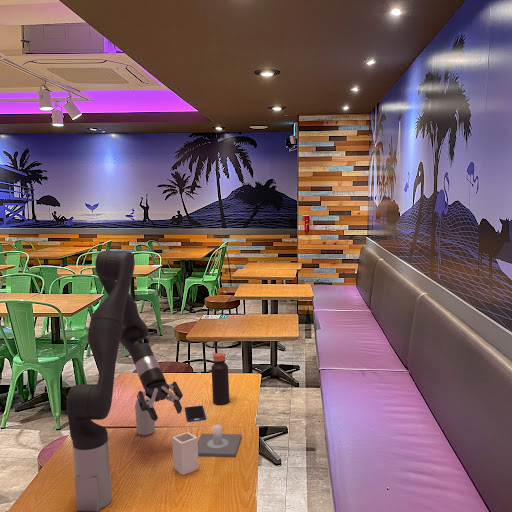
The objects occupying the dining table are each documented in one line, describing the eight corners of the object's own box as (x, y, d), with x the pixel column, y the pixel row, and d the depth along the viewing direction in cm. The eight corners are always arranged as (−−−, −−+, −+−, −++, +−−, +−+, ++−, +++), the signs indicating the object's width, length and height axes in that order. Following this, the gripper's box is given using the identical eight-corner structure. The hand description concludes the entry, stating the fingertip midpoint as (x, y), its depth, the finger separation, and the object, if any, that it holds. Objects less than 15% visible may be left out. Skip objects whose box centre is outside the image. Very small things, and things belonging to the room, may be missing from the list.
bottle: (214, 406, 207) (212, 357, 205) (211, 400, 214) (209, 353, 212) (231, 404, 209) (229, 355, 207) (227, 398, 215) (225, 351, 213)
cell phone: (187, 423, 193) (187, 421, 193) (184, 408, 207) (184, 407, 206) (206, 421, 194) (206, 419, 194) (202, 406, 208) (202, 405, 208)
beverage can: (150, 437, 182) (148, 404, 180) (133, 436, 183) (131, 403, 182) (157, 429, 188) (155, 397, 187) (141, 428, 189) (139, 396, 188)
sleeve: (198, 469, 159) (197, 437, 158) (182, 475, 155) (181, 443, 154) (189, 462, 163) (187, 431, 162) (173, 468, 160) (172, 437, 159)
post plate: (235, 456, 165) (234, 436, 165) (192, 455, 167) (191, 435, 166) (241, 437, 179) (240, 417, 178) (202, 436, 181) (201, 417, 180)
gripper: (133, 371, 166) (151, 417, 159) (172, 362, 175) (191, 404, 167) (127, 383, 171) (144, 428, 163) (165, 373, 180) (183, 415, 172)
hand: (168, 416), depth 165 cm, fingers open, 8 cm apart
